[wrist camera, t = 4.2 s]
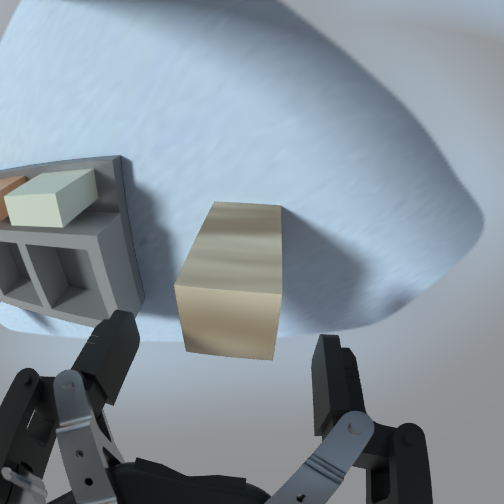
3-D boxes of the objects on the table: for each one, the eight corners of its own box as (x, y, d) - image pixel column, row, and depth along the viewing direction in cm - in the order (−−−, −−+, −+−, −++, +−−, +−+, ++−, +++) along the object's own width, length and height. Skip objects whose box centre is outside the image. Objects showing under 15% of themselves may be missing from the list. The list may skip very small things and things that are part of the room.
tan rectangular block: (214, 201, 17) (173, 285, 11) (280, 205, 17) (282, 294, 10) (215, 257, 19) (186, 351, 13) (275, 261, 19) (272, 360, 13)
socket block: (-10, 172, 17) (-48, 196, 12) (120, 155, 16) (74, 182, 12) (23, 277, 23) (-3, 308, 19) (145, 298, 22) (122, 344, 18)
